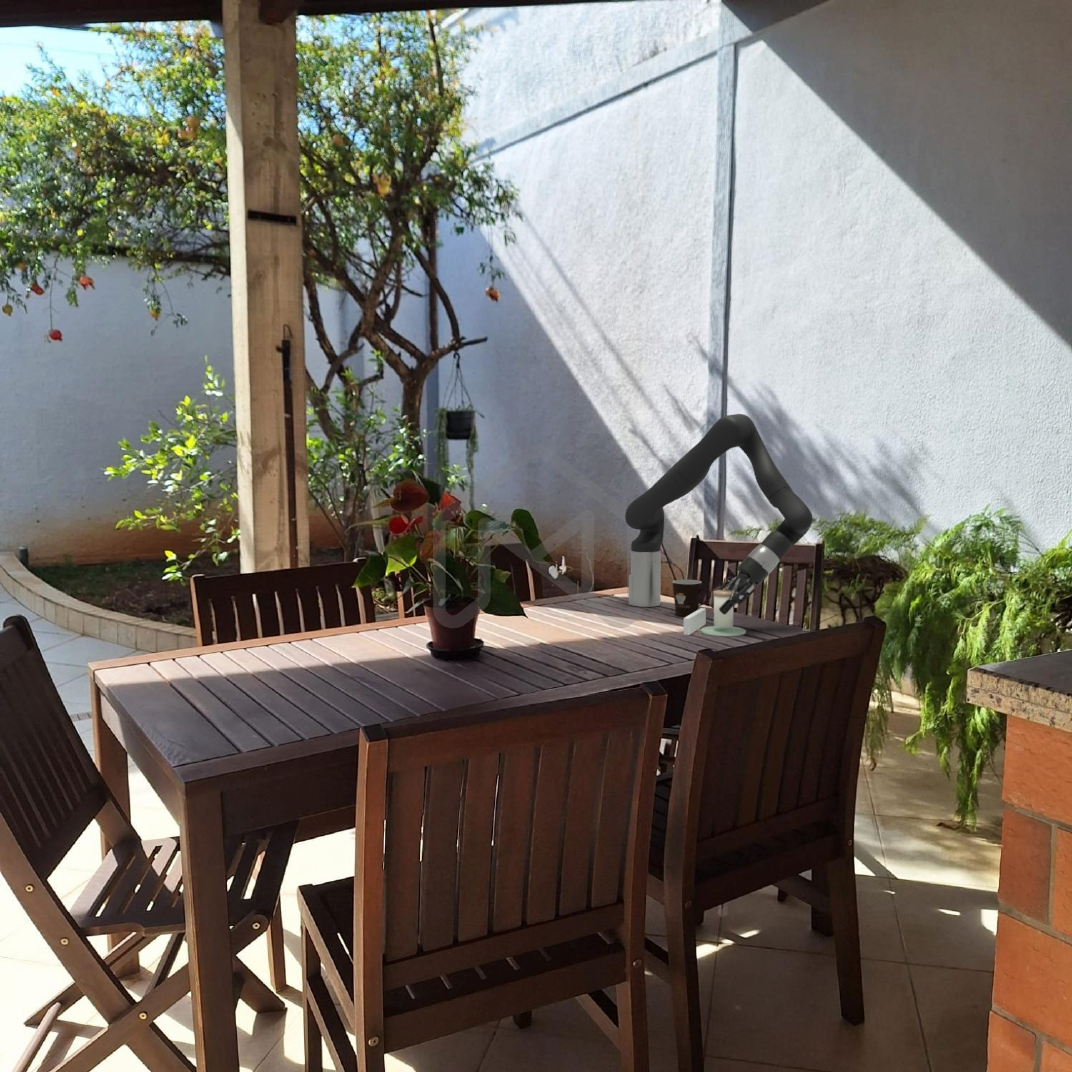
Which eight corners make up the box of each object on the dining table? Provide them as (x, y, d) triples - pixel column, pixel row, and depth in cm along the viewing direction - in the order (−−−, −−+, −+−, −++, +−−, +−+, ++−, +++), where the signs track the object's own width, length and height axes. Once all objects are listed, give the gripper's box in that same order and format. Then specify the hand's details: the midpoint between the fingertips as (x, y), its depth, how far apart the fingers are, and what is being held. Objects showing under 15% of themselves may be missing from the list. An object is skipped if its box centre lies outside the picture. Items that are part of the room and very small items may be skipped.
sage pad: (695, 634, 260) (695, 632, 260) (707, 625, 271) (707, 624, 271) (739, 638, 255) (739, 636, 255) (750, 629, 266) (750, 627, 266)
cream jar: (710, 626, 262) (711, 592, 261) (716, 622, 267) (716, 589, 266) (730, 627, 259) (731, 593, 258) (735, 623, 264) (736, 590, 263)
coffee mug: (666, 613, 289) (666, 580, 288) (690, 611, 293) (690, 578, 292) (688, 620, 279) (688, 586, 278) (713, 618, 282) (713, 584, 281)
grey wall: (683, 634, 260) (683, 618, 259) (700, 623, 274) (700, 608, 274) (688, 635, 259) (689, 618, 259) (705, 624, 273) (705, 608, 273)
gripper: (738, 552, 269) (697, 596, 268) (761, 558, 255) (719, 605, 254) (755, 570, 271) (715, 614, 270) (779, 577, 257) (737, 624, 256)
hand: (717, 610), depth 262 cm, fingers closed on cream jar, 5 cm apart
